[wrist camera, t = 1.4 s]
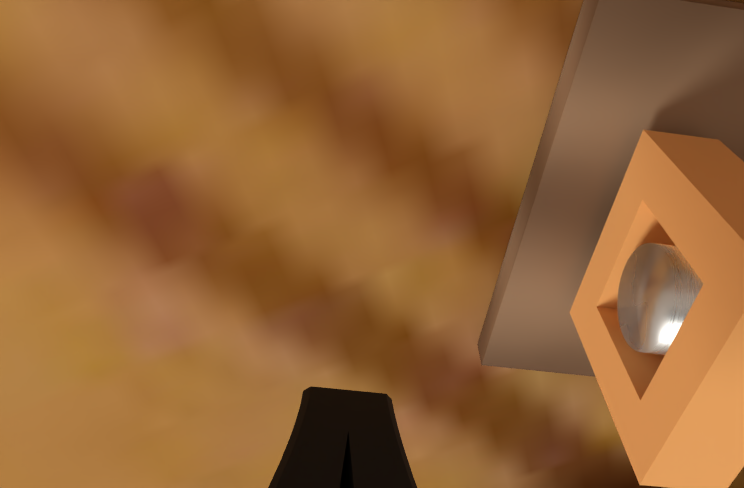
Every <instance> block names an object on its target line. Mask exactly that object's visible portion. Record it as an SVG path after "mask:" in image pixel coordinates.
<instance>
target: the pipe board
mask: <svg viewBox="0 0 744 488" xmlns="http://www.w3.org/2000/svg"><path fill="white" fill-rule="evenodd" d="M643 130H650V131H658V132H665V133H673V134H680V135H688V136H696V137H703V138H711V139H718V140H720V141H721V142H722V143H723V144H724V145H725V146H727V147H728V148H729V149H730V150H731V151H732V152H733V153H734V154H736V155H737V156H738V157H739V158H740V159H741V160H742V161H743V162H744V3H739V2H733V1H726V0H584V1H583V5H582V8H581V11H580V14H579V18H578V21H577V24H576V27H575V30H574V34H573V37H572V40H571V43H570V47H569V50H568V53H567V56H566V60H565V63H564V66H563V69H562V73H561V76H560V79H559V82H558V85H557V89H556V92H555V95H554V98H553V102H552V105H551V108H550V111H549V115H548V118H547V121H546V124H545V128H544V131H543V134H542V137H541V141H540V144H539V147H538V150H537V153H536V157H535V160H534V163H533V166H532V170H531V173H530V176H529V179H528V183H527V186H526V189H525V192H524V196H523V199H522V202H521V205H520V209H519V212H518V215H517V218H516V221H515V225H514V228H513V231H512V234H511V238H510V241H509V244H508V247H507V251H506V254H505V257H504V260H503V264H502V267H501V270H500V273H499V276H498V280H497V283H496V286H495V289H494V293H493V296H492V299H491V302H490V306H489V309H488V312H487V315H486V319H485V322H484V325H483V328H482V332H481V335H480V338H479V341H478V349H479V354H480V359H481V364H482V365H487V366H497V367H506V368H516V369H526V370H536V371H546V372H555V373H565V374H575V375H585V376H595V374H594V371H593V369H592V366H591V364H590V361H589V359H588V357H587V354H586V352H585V349H584V347H583V344H582V342H581V339H580V337H579V334H578V332H577V329H576V327H575V325H574V322H573V320H572V317H571V315H570V310H571V307H572V305H573V302H574V300H575V297H576V295H577V292H578V290H579V287H580V285H581V283H582V280H583V278H584V275H585V273H586V270H587V268H588V265H589V263H590V260H591V258H592V255H593V253H594V250H595V248H596V245H597V243H598V240H599V238H600V235H601V233H602V230H603V228H604V225H605V223H606V221H607V218H608V216H609V213H610V211H611V208H612V206H613V203H614V201H615V198H616V196H617V193H618V191H619V188H620V186H621V183H622V181H623V178H624V176H625V173H626V171H627V168H628V166H629V164H630V161H631V159H632V156H633V154H634V151H635V149H636V146H637V144H638V141H639V139H640V136H641V134H642V131H643ZM595 377H596V376H595Z"/></svg>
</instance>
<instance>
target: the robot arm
mask: <svg viewBox="0 0 744 488" xmlns="http://www.w3.org/2000/svg"><path fill="white" fill-rule="evenodd" d="M268 488H417V486H416V483H415V480H414V478H413V475H412V472H411V469H410V466H409V463H408V460H407V456H406V453H405V450H404V447H403V444H402V440H401V437H400V433H399V430H398V426H397V422H396V418H395V414H394V409H393V404H392V400H391V398H390V397H389V396H388V395H387V394H382V393H372V392H362V391H351V390H341V389H331V388H321V387H309V388H308V389H306V390H304V391H303V395H302V400H301V405H300V409H299V412H298V416H297V419H296V422H295V425H294V428H293V431H292V434H291V436H290V439H289V441H288V444H287V446H286V449H285V451H284V454H283V456H282V459H281V461H280V464H279V466H278V468H277V470H276V472H275V474H274V477H273V479H272V481H271V483H270V485H269V487H268Z"/></svg>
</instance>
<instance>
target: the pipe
mask: <svg viewBox="0 0 744 488" xmlns="http://www.w3.org/2000/svg"><path fill="white" fill-rule="evenodd" d="M702 286H703V282H702V281H701V279H700V278H699V277H698V275H697V274H696V273H695V271H694V270H693V268H692V267H691V266H690V264H689V263H688V262H687V260H686V259H685V257H684V256H683V255H682V253H681V252H680V251H679V249H678V248H677V246H673V245H664V244H656V243H646V244H643V245H641V246H639V247H638V248H637V249H636V250H635V251H634V252H633V253H632V254H631V256H630V257H629V259H628V261H627V263H626V265H625V267H624V270H623V272H622V275H621V279H620V283H619V289H618V300H617V310H618V319H619V324H620V328H621V332H622V334H623V337H624V339H625V340H626V342H627V343H628V345H629V346H630V347H631V348H632V349H634V350H635V351H638V352H643V353H653V354H662V355H665V354H666V353H667V351H668V349H669V347H670V345H671V343H672V341H673V340H674V338H675V336H676V334H677V332H678V330H679V328H680V327H681V325H682V323H683V321H684V319H685V317H686V316H687V314H688V312H689V310H690V308H691V306H692V304H693V303H694V301H695V299H696V297H697V295H698V293H699V291H700V290H701V288H702Z"/></svg>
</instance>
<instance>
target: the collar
mask: <svg viewBox="0 0 744 488" xmlns="http://www.w3.org/2000/svg"><path fill="white" fill-rule="evenodd" d="M646 243H656V244H664V245H673V246H677V248H678V249H679V251H680V252H681V253H682V255H683V256H684V257H685V259H686V260H687V262H688V263H689V264H690V266H691V267H692V268H693V270H694V271H695V273H696V274H697V275H698V277H699V278H700V279H701V281H702V282H703V286H702V288H701V290H700V291H699V293H698V295H697V297H696V299H695V301H694V303H693V304H692V306H691V308H690V310H689V312H688V314H687V316H686V317H685V319H684V321H683V323H682V325H681V327H680V328H679V330H678V332H677V334H676V336H675V338H674V340H673V341H672V343H671V345H670V347H669V349H668V351H667V353H666V354H665V355H662V354H653V353H643V352H638V351H635V350H634V349H632V348H631V347H630V346H629V345H628V343H627V342H626V340H625V339H624V337H623V334H622V332H621V328H620V324H619V319H618V310H617V300H618V289H619V283H620V279H621V275H622V272H623V270H624V267H625V265H626V263H627V261H628V259H629V257H630V256H631V254H632V253H633V252H634V251H635V250H636V249H637V248H638V247H639V246H641V245H643V244H646ZM570 315H571V317H572V320H573V322H574V325H575V327H576V329H577V332H578V334H579V337H580V339H581V342H582V344H583V347H584V349H585V352H586V354H587V357H588V359H589V361H590V364H591V366H592V369H593V371H594V374H595V376H596V379H597V381H598V384H599V386H600V389H601V391H602V393H603V396H604V398H605V401H606V403H607V406H608V408H609V411H610V413H611V416H612V418H613V421H614V423H615V425H616V428H617V430H618V433H619V435H620V438H621V440H622V443H623V445H624V448H625V450H626V453H627V455H628V457H629V460H630V462H631V465H632V467H633V470H634V472H635V475H636V477H637V480H638V482H639V485H646V486H657V487H668V488H728V487H729V486H730V484H731V483H732V482H733V480H734V479H735V478H736V476H737V475H738V473H739V472H740V471H741V469H742V468H743V467H744V162H743V161H742V160H741V159H740V158H739V157H738V156H737V155H736V154H734V153H733V152H732V151H731V150H730V149H729V148H728V147H727V146H725V145H724V144H723V143H722V142H721V141H720V140H718V139H711V138H703V137H696V136H688V135H680V134H673V133H665V132H658V131H650V130H643V131H642V134H641V136H640V139H639V141H638V144H637V146H636V149H635V151H634V154H633V156H632V159H631V161H630V164H629V166H628V168H627V171H626V173H625V176H624V178H623V181H622V183H621V186H620V188H619V191H618V193H617V196H616V198H615V201H614V203H613V206H612V208H611V211H610V213H609V216H608V218H607V221H606V223H605V225H604V228H603V230H602V233H601V235H600V238H599V240H598V243H597V245H596V248H595V250H594V253H593V255H592V258H591V260H590V263H589V265H588V268H587V270H586V273H585V275H584V278H583V280H582V283H581V285H580V287H579V290H578V292H577V295H576V297H575V300H574V302H573V305H572V307H571V310H570Z"/></svg>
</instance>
